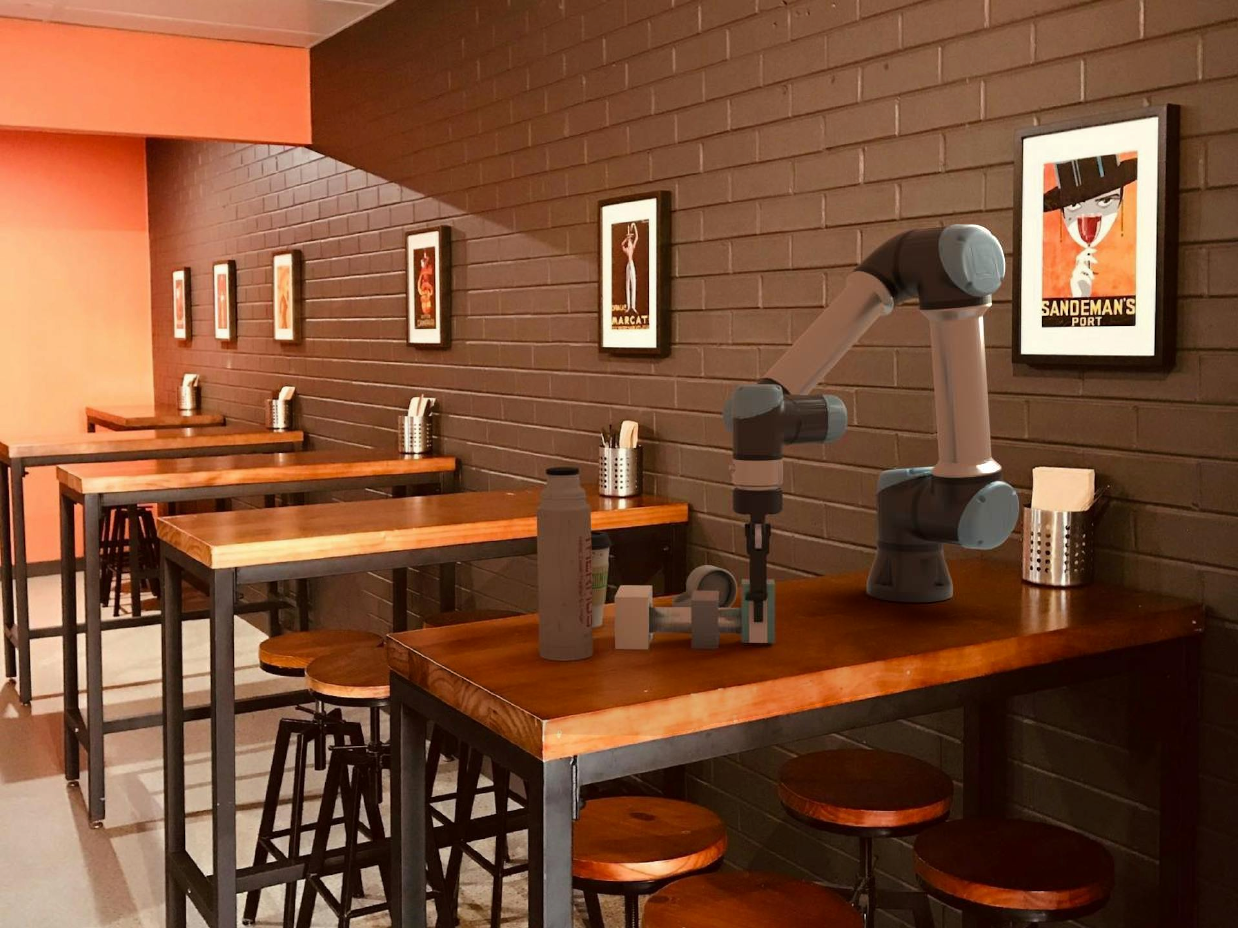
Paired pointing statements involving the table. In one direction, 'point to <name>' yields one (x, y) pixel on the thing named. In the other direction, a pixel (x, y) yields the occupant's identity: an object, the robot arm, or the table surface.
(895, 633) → the table surface
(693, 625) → the square hollow collar
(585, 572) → the thermos bottle
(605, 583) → the coffee cup
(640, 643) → the socket block
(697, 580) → the ceramic mug
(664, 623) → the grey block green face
